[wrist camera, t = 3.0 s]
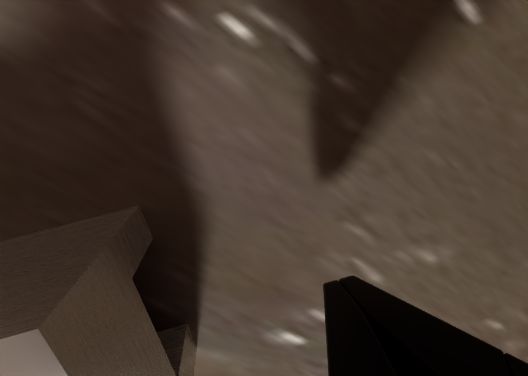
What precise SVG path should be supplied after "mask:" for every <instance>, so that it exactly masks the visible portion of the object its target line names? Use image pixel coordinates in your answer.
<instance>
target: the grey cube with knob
mask: <svg viewBox="0 0 528 376" xmlns="http://www.w3.org/2000/svg"><path fill="white" fill-rule="evenodd" d="M152 239H153V238H152V236H151V233H150V231H149V228H148V226H147V223H146V221H145V218H144V216H143V213H142V211H141V208H140V206H135V207H131V208H127V209H123V210H120V211H116V212H112V213H108V214H104V215H100V216H96V217H93V218H89V219H85V220H81V221H77V222H73V223H69V224H66V225H62V226H58V227H54V228H50V229H46V230H42V231H39V232H35V233H31V234H27V235H23V236H19V237H15V238H12V239H8V240H4V241H0V376H194V369H195V360H196V351H197V347H196V345H195V342H194V340H193V337H192V335H191V332H190V330H189V327H188V325H187V324H184V325H180V326H177V327H174V328H170V329H167V330H163V331H160V332H156V330H155V328H154V326H153V324H152V322H151V319H150V317H149V315H148V313H147V311H146V308H145V306H144V304H143V302H142V300H141V298H140V295H139V293H138V291H137V289H136V287H135V284H134V282H133V280H132V278H133V276H134V274H135V272H136V270H137V268H138V266H139V264H140V262H141V260H142V258H143V256H144V255H145V253H146V251H147V249H148V247H149V245H150V243H151V241H152Z"/></svg>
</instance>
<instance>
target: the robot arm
mask: <svg viewBox="0 0 528 376" xmlns="http://www.w3.org/2000/svg"><path fill="white" fill-rule="evenodd" d="M323 292H324V308H325V325H326V341H327V358H328V374H329V376H528V363H526V362H524V361H522V360H520V359H518V358H516V357H514V356H512V355H510V354H508V353H505V354H504V353H503V352H502V350H500V349H498V348H496V347H494V346H492V345H490V344H488V343H486V342H484V341H482V340H480V339H478V338H476V337H474V336H472V335H470V334H468V333H466V332H464V331H462V330H460V329H458V328H456V327H454V326H452V325H450V324H449V323H447V322H445V321H443V320H441V319H439V318H437V317H435V316H433V315H431V314H429V313H427V312H425V311H423V310H421V309H419V308H417V307H415V306H413V305H411V304H409V303H407V302H405V301H403V300H401V299H399V298H397V297H395V296H393V295H391V294H389V293H387V292H385V291H383V290H381V289H379V288H377V287H375V286H373V285H371V284H369V283H368V282H366V281H364V280H362V279H360V278H358V277H356V276H348V277H345V278H341V279H340V280H339V281H337V280H334V281H331V282H327V283H324V285H323Z"/></svg>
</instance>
